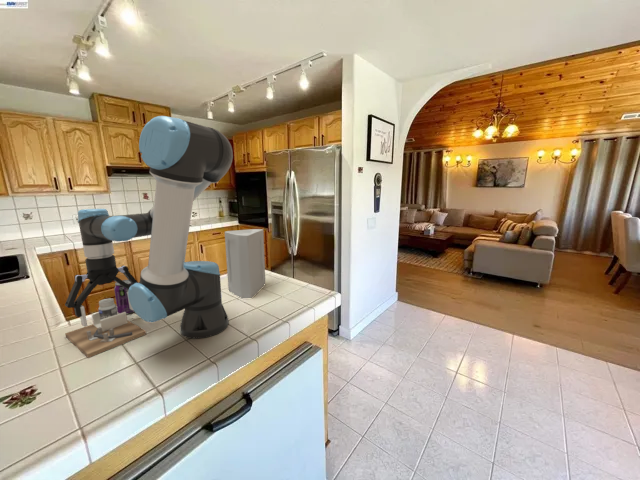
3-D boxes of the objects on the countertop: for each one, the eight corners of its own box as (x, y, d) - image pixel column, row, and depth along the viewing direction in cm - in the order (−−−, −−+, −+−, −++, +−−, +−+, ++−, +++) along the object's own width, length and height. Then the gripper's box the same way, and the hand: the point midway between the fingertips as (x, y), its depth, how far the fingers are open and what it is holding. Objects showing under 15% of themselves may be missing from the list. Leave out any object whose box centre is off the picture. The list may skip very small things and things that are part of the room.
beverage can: (128, 316, 99) (124, 285, 97) (113, 314, 101) (108, 284, 98) (144, 308, 106) (140, 279, 104) (129, 306, 107) (125, 278, 105)
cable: (133, 334, 84) (133, 331, 84) (122, 341, 80) (122, 338, 80) (98, 330, 87) (98, 328, 86) (86, 337, 83) (85, 335, 82)
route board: (146, 334, 87) (144, 323, 86) (88, 357, 74) (86, 345, 74) (120, 318, 98) (118, 308, 97) (65, 336, 85) (63, 325, 84)
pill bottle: (97, 327, 89) (93, 303, 87) (107, 320, 93) (103, 297, 92) (112, 326, 89) (108, 303, 87) (121, 319, 94) (118, 297, 92)
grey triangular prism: (238, 282, 136) (235, 228, 131) (266, 284, 134) (263, 229, 129) (219, 297, 117) (214, 234, 112) (251, 299, 115) (248, 235, 110)
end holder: (127, 323, 91) (126, 312, 91) (102, 332, 86) (101, 320, 85) (117, 316, 96) (115, 306, 95) (93, 324, 90) (91, 314, 90)
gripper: (137, 248, 99) (144, 301, 103) (43, 263, 78) (56, 329, 82) (147, 250, 95) (154, 306, 98) (50, 266, 74) (64, 336, 78)
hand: (109, 316), depth 90 cm, fingers open, 13 cm apart
